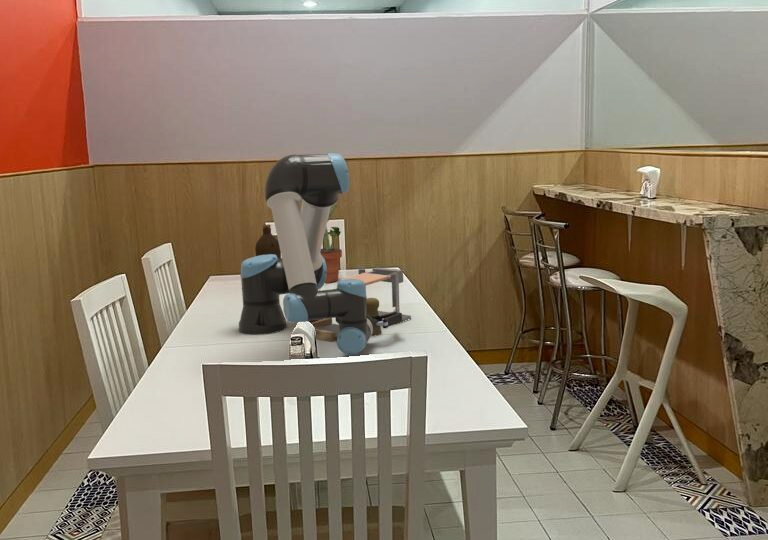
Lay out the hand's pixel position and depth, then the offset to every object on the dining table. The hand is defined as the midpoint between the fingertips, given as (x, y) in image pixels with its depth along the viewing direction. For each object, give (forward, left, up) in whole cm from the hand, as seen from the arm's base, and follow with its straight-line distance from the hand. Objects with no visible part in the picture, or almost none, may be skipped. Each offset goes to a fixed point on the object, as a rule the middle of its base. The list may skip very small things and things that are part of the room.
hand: (372, 311), depth 231 cm
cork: (+1, -2, -7) cm, 7 cm away
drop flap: (-8, +10, +6) cm, 14 cm away
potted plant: (-72, +56, -7) cm, 91 cm away
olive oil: (-90, +40, -7) cm, 99 cm away
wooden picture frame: (-10, -8, -6) cm, 14 cm away
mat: (-9, -8, -6) cm, 14 cm away
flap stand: (-8, +14, -6) cm, 18 cm away
